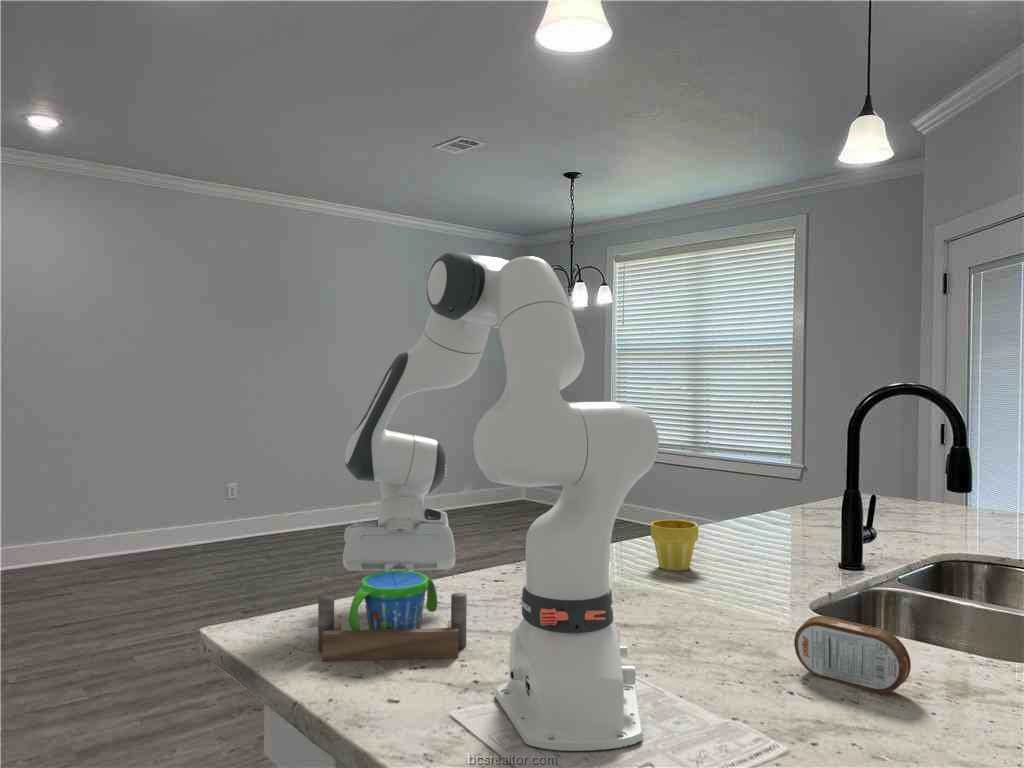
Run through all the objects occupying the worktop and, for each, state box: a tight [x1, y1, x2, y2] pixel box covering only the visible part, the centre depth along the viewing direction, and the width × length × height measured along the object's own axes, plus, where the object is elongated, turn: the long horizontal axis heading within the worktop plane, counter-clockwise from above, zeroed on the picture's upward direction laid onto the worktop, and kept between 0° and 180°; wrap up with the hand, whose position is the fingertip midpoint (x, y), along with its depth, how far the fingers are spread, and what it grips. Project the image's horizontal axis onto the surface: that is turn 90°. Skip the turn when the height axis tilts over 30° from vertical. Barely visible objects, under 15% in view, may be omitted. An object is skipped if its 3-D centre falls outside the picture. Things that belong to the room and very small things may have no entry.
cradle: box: [317, 592, 468, 662], centre depth 119 cm, size 10×23×8 cm, turn 95°
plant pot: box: [650, 519, 699, 572], centre depth 170 cm, size 10×10×10 cm
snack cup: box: [348, 570, 438, 630], centre depth 121 cm, size 16×10×10 cm
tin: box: [793, 615, 912, 694], centre depth 106 cm, size 15×3×8 cm, turn 48°
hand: (398, 589), depth 135 cm, fingers closed
